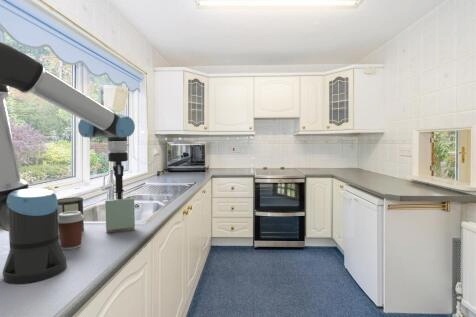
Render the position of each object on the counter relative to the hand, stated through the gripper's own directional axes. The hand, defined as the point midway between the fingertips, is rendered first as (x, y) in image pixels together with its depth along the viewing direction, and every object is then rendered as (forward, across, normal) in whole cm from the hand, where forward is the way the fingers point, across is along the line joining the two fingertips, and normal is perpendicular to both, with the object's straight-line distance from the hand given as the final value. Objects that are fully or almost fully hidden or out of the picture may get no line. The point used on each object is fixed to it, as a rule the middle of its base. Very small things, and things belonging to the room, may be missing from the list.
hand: (119, 207), depth 128 cm
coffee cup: (+10, -15, +17) cm, 25 cm away
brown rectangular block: (+9, -2, 0) cm, 10 cm away
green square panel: (+8, -3, 0) cm, 9 cm away
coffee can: (+10, +2, +19) cm, 21 cm away
